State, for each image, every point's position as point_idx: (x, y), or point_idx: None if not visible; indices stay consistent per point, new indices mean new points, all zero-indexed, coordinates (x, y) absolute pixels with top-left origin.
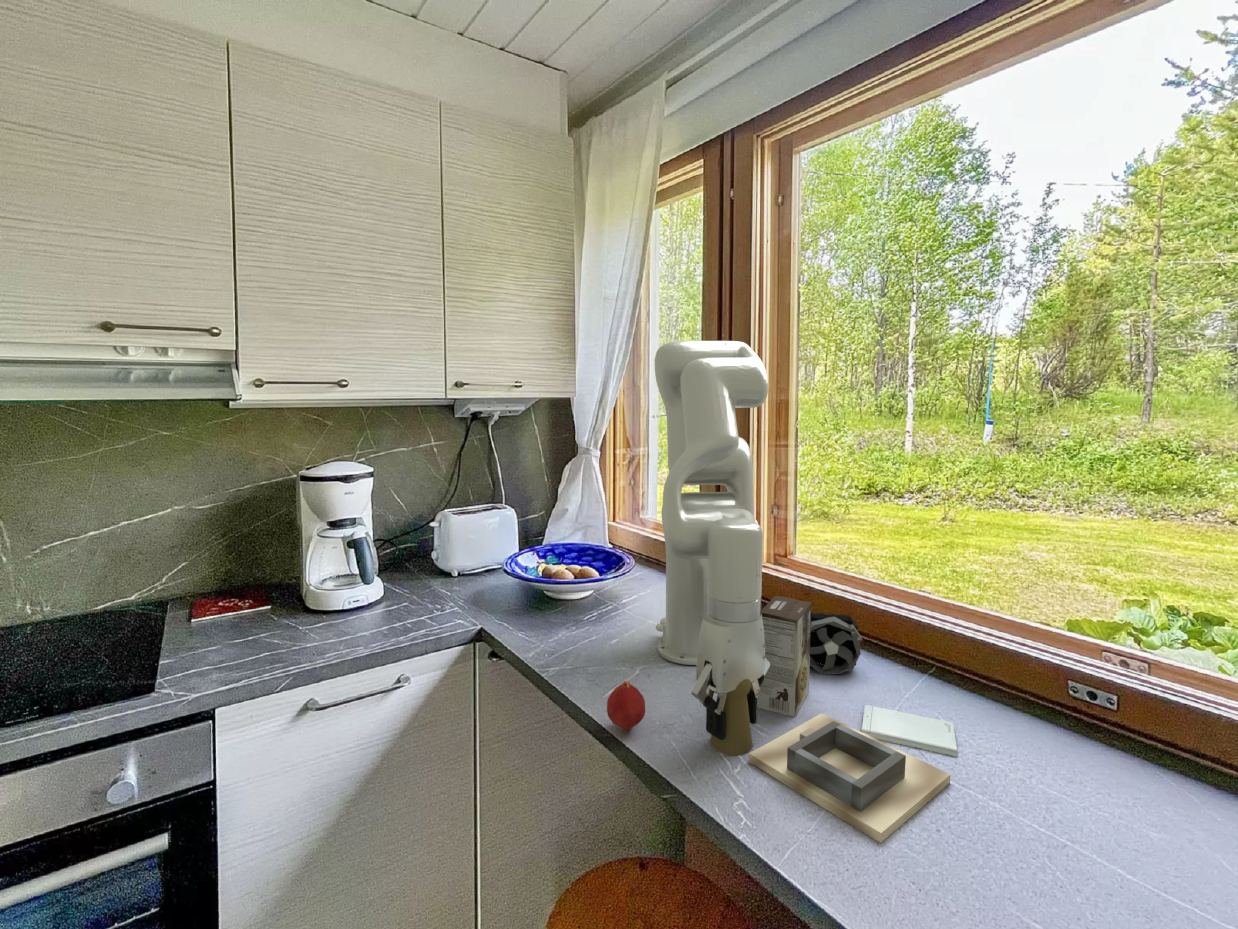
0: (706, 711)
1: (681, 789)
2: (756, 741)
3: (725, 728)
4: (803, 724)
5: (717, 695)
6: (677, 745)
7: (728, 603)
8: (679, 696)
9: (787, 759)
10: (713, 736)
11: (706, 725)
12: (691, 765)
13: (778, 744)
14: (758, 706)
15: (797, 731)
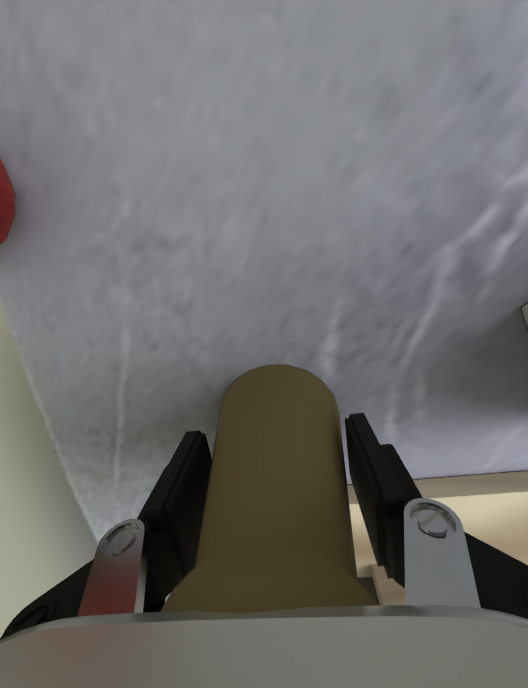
0: (159, 482)
1: (72, 486)
2: (345, 445)
3: None
4: (513, 496)
5: (209, 533)
6: (132, 355)
7: None
8: (313, 41)
9: None
10: (218, 423)
11: (181, 441)
12: (129, 438)
13: (361, 520)
14: (524, 311)
15: (462, 508)
